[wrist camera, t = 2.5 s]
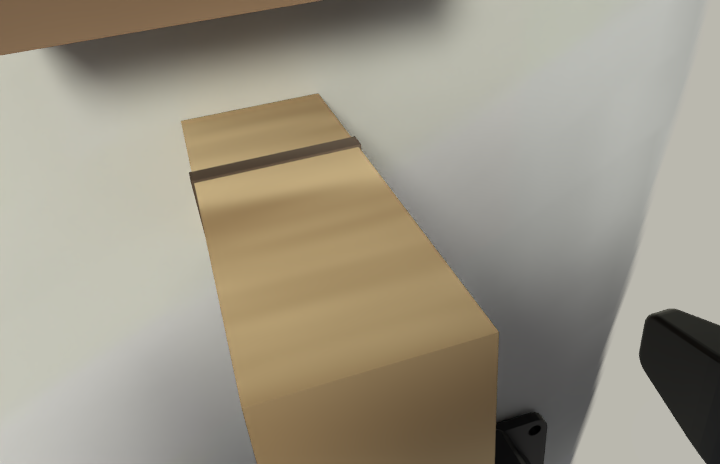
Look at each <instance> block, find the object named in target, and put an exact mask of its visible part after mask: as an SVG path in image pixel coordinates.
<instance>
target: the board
mask: <svg viewBox="0 0 720 464" xmlns="http://www.w3.org/2000/svg"><path fill="white" fill-rule="evenodd" d="M315 1H321V0H0V55H5V54H11V53H17V52H23V51H29V50H35V49H41V48H46V47H52V46H58V45H64V44H70V43H76V42H81V41H87V40H93V39H99V38H105V37H111V36H117V35H122V34H128V33H134V32H140V31H146V30H152V29H158V28H163V27H169V26H175V25H181V24H187V23H193V22H198V21H204V20H210V19H216V18H222V17H228V16H234V15H239V14H245V13H251V12H257V11H263V10H269V9H274V8H280V7H286V6H292V5H298V4H304V3H310V2H315Z"/></svg>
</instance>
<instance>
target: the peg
mask: <svg viewBox="0 0 720 464" xmlns="http://www.w3.org/2000/svg"><path fill="white" fill-rule="evenodd" d="M181 123H182V128H183V133H184V137H185V142H186V147H187V152H188V156H189V161H190V166H191V171H192V172H189V175H190V180H191V184H192V188H193V192H194V195H195V199H196V203H197V207H198V210H199V214H200V218H201V222H202V226H203V229H204V233H205V237H206V242H207V246H208V251H209V256H210V260H211V265H212V270H213V275H214V279H215V284H216V289H217V294H218V298H219V303H220V308H221V313H222V317H223V322H224V327H225V331H226V336H227V341H228V346H229V350H230V355H231V360H232V365H233V369H234V374H235V379H236V383H237V388H238V393H239V398H240V402H241V407H242V411H243V415H244V418H245V422H246V426H247V429H248V433H249V436H250V440H251V444H252V447H253V451H254V455H255V458H256V462H257V464H495V437H496V406H497V375H498V344H499V332H498V330H497V329H496V328H495V326H494V325H493V324H492V322H491V321H490V320H489V318H488V317H487V316H486V315H485V313H484V312H483V311H482V309H481V308H480V307H479V305H478V304H477V303H476V301H475V300H474V299H473V297H472V296H471V295H470V293H469V292H468V291H467V289H466V288H465V287H464V285H463V284H462V283H461V282H460V280H459V279H458V278H457V276H456V275H455V274H454V272H453V271H452V270H451V268H450V267H449V266H448V264H447V263H446V262H445V260H444V259H443V258H442V256H441V255H440V254H439V252H438V251H437V250H436V249H435V247H434V246H433V245H432V243H431V242H430V241H429V239H428V238H427V237H426V235H425V234H424V233H423V231H422V230H421V229H420V227H419V226H418V225H417V223H416V222H415V221H414V219H413V218H412V217H411V215H410V214H409V213H408V212H407V210H406V209H405V208H404V206H403V205H402V204H401V202H400V201H399V200H398V198H397V197H396V196H395V194H394V193H393V192H392V190H391V189H390V188H389V186H388V185H387V184H386V182H385V181H384V180H383V179H382V177H381V176H380V175H379V173H378V172H377V171H376V169H375V168H374V167H373V165H372V164H371V163H370V161H369V160H368V159H367V157H366V156H365V155H364V153H363V152H362V151H361V144H360V142H359V141H358V140H357V139H356V137H355V136H354V137H351V136H350V135H349V134H348V132H347V131H346V130H345V128H344V127H343V126H342V124H341V123H340V122H339V120H338V119H337V118H336V116H335V115H334V114H333V113H332V111H331V110H330V109H329V107H328V106H327V105H326V103H325V102H324V101H323V99H322V98H321V97H320V95H319V94H313V95H308V96H303V97H298V98H293V99H288V100H283V101H278V102H273V103H268V104H263V105H258V106H253V107H248V108H244V109H239V110H234V111H229V112H224V113H219V114H214V115H209V116H204V117H199V118H194V119H189V120H184V121H181Z"/></svg>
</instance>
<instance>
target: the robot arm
mask: <svg viewBox="0 0 720 464" xmlns="http://www.w3.org/2000/svg"><path fill="white" fill-rule="evenodd" d="M639 357H640V362H641V365H642V367H643V369H644V371H645V372H646V374H647V376H648V377H649V379H650V380H651V382H652V383H653V385H654V386H655V388H656V389H657V391H658V392H659V394H660V396H661V397H662V399H663V400H664V402H665V403H666V405H667V406H668V408H669V409H670V411H671V413H672V414H673V416H674V417H675V419H676V420H677V422H678V423H679V425H680V426H681V428H682V429H683V431H684V433H685V434H686V436H687V437H688V439H689V440H690V442H691V443H692V445H693V446H694V447H695V449H696V450H697V452H698V453H699V455H700V456H701V457H702V459H703V460H704V461H705V463H706V464H720V326H719V325H717V324H714V323H712V322H709V321H707V320H704V319H701V318H699V317H696V316H693V315H690V314H688V313H685V312H683V311H680V310H677V309H667V310H663V311H660V312H657V313H653V314H651V315H649V316H648V317H647V319H646V320H645V324H644V329H643V335H642V340H641V346H640V351H639ZM546 433H547V423H546V422H545V420H544V419H543V418H542V416H541V415H540V414H539V413H537V412H532V413H528V414H525V415H522V416H519V417H516V418H513V419H510V420H507V421H504V422H500V423H497V424H496V437H495V464H544V454H545V443H546Z"/></svg>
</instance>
